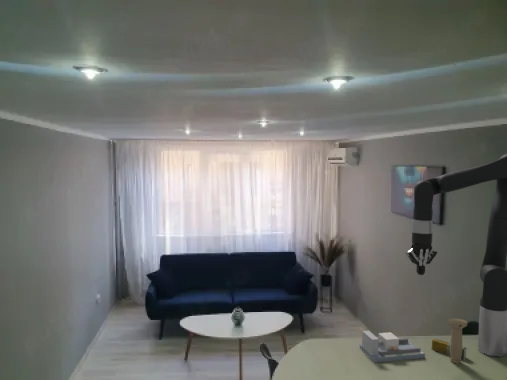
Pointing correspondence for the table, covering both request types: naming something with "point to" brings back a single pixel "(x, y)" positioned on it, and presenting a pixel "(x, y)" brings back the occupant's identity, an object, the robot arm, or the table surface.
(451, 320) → the handle
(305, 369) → the table surface
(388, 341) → the plunger
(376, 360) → the gauge bed
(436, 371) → the table surface
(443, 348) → the medication box
